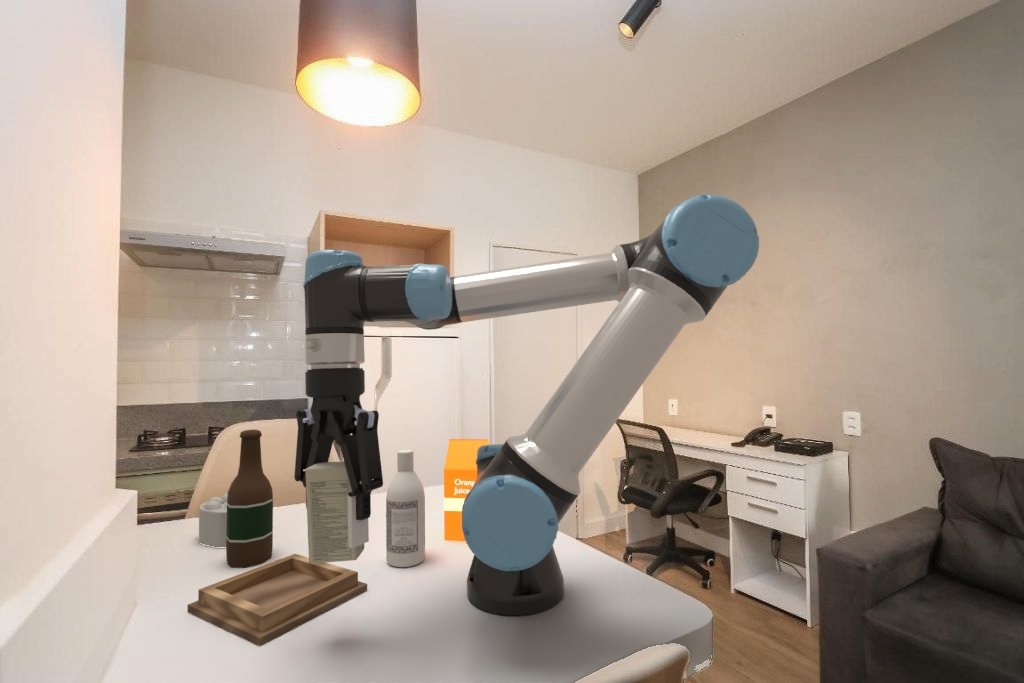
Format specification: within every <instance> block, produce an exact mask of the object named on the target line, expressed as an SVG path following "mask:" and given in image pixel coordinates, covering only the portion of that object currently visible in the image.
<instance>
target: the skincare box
mask: <svg viewBox="0 0 1024 683" xmlns="http://www.w3.org/2000/svg"><path fill="white" fill-rule="evenodd" d="M304 471H306V488H305V497H306V496H307V508H306V517H307V518H306V519H307V520H306V521H307V544H308V558H309V563H324V562H325V563H334V562H335V563H336V562H349V561H352V562H353V561H356V560H357V559H358V558H359V557H360V556H361V554H362V553H363V552H364V550H365V543H364V544H361V545H359V546H356V547H354V548H349V547H348V498H347V495H348V493H350V492H352V489H351V485H350V481H349V478H348V474H347V470H346V466H345V463H344V460H343V461H330V462H329V461H328V462H324V463H316V464H314V465H312V466H310V467H308V468H307V469H304ZM361 483H362V482H361V481H360V484H361Z"/></svg>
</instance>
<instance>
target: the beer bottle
mask: <svg viewBox="0 0 1024 683" xmlns="http://www.w3.org/2000/svg"><path fill="white" fill-rule="evenodd" d="M262 436H263V434H262V431H261V430H259V429H247V430H243V431H241V432H240V433H239V438H241V441H240V454H239V464H238V469H237V471H238V472H237V475H236V476H235V478H234V479H233V480H232V481H231V484H230V486H229V488H228V491H227V493H228V496H227V531H226V548H225V552H226V553H225V554H226V562H227V564H228V565H229V567H230V568H248V567H254V566H257V565H261V564H264V562H266V561H268V560H269V559H271V558H272V556H273V543H274V542H273V541H274V540H273V537H274V536H273V535H274V534H273V533H274V532H273V530H274V529H273V528H274V525H273V524H274V495H273V493H274V492H273V488H272V485H271V482H270V480H269V479H268V477H267V476H266V475H265V473H264V470H263V464H262V449H261V447H262V446H261V437H262Z"/></svg>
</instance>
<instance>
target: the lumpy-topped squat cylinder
mask: <svg viewBox="0 0 1024 683" xmlns="http://www.w3.org/2000/svg"><path fill="white" fill-rule="evenodd" d="M227 496H228V492H227V493H224V494H222V495H221V496H220V497H219V496H212V497H210V498H209V499H208V501H205V502H203V503H201V504H200V505H199V508H198V543H199V542H200V543H202V544H205V545H209V546H214V547H226V531H227Z"/></svg>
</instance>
